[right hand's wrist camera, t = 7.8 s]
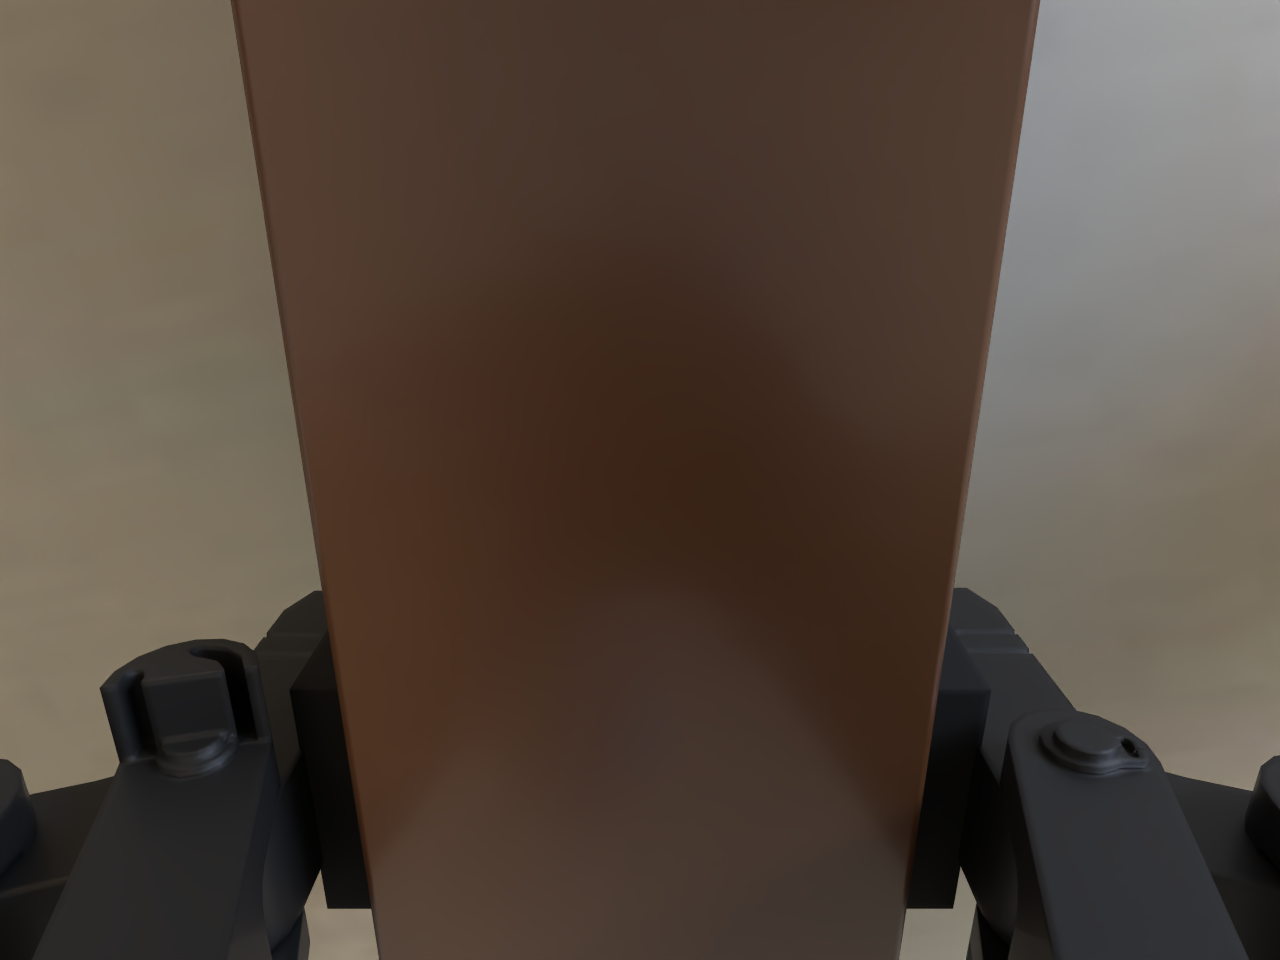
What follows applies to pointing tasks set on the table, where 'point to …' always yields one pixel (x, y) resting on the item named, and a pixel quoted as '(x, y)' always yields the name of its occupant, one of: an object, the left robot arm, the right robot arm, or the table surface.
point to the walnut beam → (637, 445)
